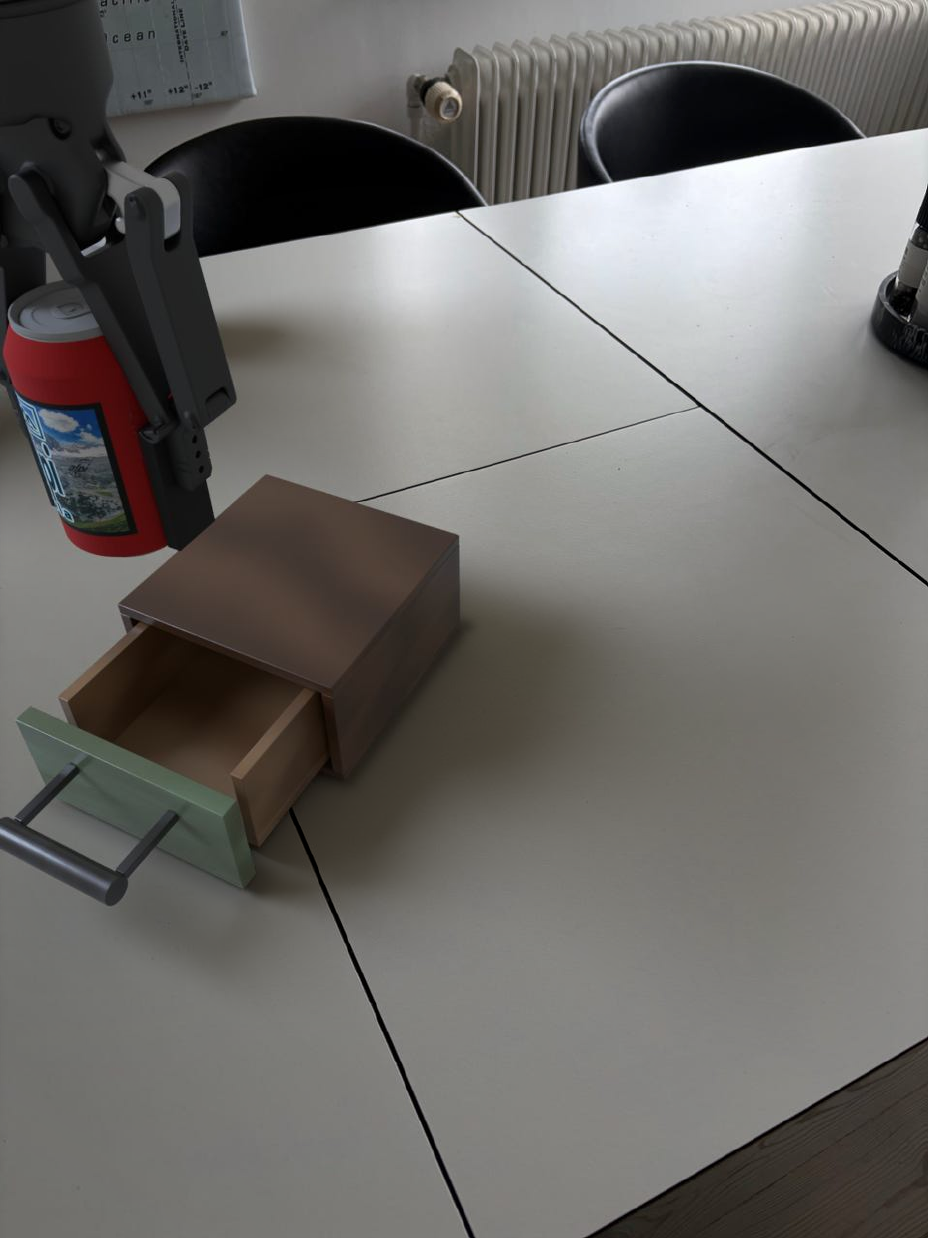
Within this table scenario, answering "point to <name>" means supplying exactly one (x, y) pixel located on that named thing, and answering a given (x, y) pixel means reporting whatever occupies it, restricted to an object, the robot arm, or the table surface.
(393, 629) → the cabinet
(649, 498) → the table surface
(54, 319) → the beverage can
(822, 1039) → the table surface
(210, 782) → the drawer
